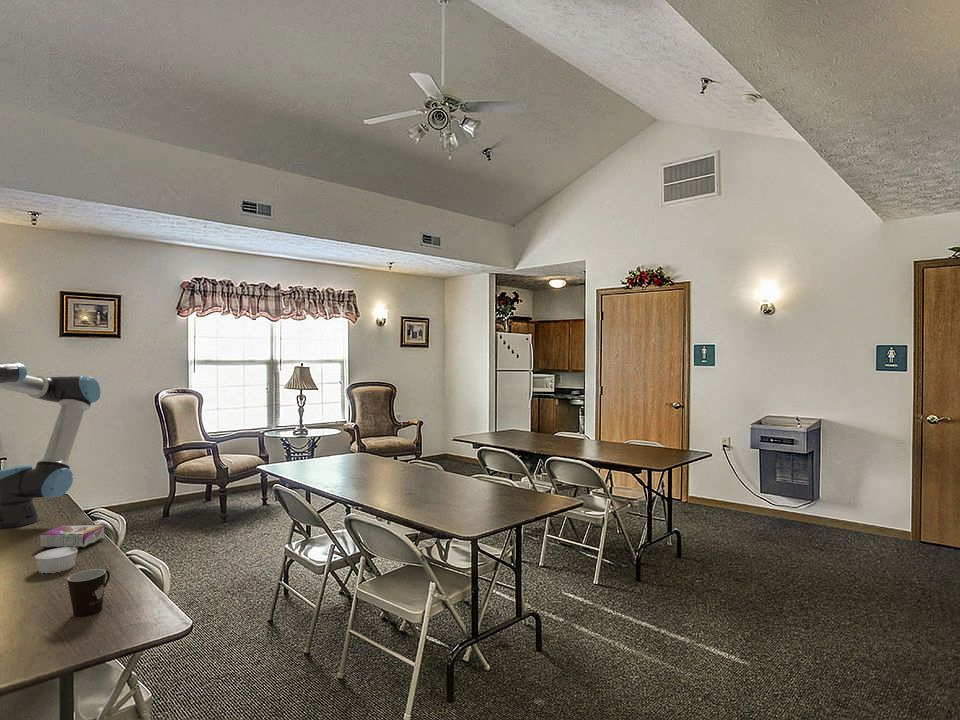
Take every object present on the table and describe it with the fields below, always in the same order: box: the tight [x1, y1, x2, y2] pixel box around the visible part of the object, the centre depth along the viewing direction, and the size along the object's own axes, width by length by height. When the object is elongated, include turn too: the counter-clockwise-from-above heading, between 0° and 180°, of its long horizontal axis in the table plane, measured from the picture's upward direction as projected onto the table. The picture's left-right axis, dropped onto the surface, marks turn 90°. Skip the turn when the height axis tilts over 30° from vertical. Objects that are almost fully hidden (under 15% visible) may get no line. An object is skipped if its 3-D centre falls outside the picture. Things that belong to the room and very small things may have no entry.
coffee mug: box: [66, 568, 111, 618], centre depth 160 cm, size 12×9×10 cm
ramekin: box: [34, 547, 78, 575], centre depth 191 cm, size 11×11×5 cm
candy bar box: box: [39, 524, 105, 548], centre depth 215 cm, size 11×5×16 cm
